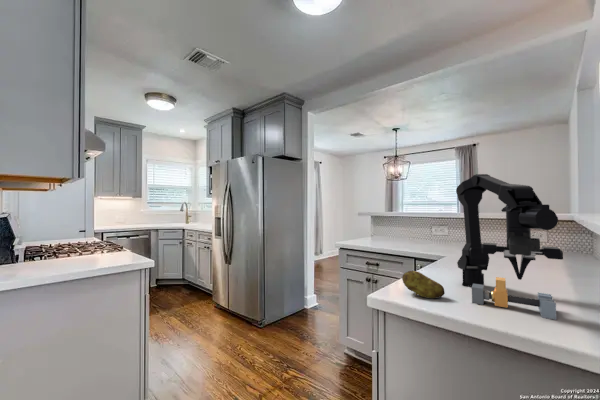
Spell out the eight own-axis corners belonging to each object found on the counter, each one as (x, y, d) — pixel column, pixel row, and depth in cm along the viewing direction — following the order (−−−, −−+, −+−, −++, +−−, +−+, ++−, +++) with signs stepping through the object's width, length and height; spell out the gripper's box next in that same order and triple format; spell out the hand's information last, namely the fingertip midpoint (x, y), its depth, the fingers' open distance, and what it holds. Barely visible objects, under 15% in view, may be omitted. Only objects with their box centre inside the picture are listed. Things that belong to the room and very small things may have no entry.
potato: (435, 303, 87) (435, 278, 87) (398, 293, 97) (398, 270, 97) (447, 297, 92) (446, 274, 92) (411, 289, 102) (411, 267, 102)
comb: (541, 317, 76) (541, 300, 76) (537, 307, 83) (537, 292, 83) (556, 319, 74) (555, 303, 74) (551, 309, 81) (550, 294, 82)
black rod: (481, 298, 87) (481, 292, 87) (481, 296, 89) (481, 290, 89) (539, 307, 79) (539, 300, 79) (539, 305, 80) (538, 298, 80)
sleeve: (494, 305, 84) (494, 279, 84) (495, 301, 88) (494, 276, 88) (507, 307, 82) (507, 281, 82) (507, 303, 86) (506, 278, 86)
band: (491, 302, 85) (491, 291, 85) (491, 299, 88) (491, 289, 88) (494, 303, 84) (494, 292, 85) (494, 300, 87) (494, 289, 87)
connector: (472, 302, 87) (471, 287, 87) (473, 298, 91) (473, 283, 91) (489, 305, 85) (488, 289, 85) (489, 301, 89) (489, 285, 89)
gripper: (479, 227, 82) (480, 280, 81) (566, 230, 71) (567, 291, 70) (481, 225, 91) (482, 273, 90) (558, 227, 79) (560, 281, 79)
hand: (519, 279), depth 82 cm, fingers closed
